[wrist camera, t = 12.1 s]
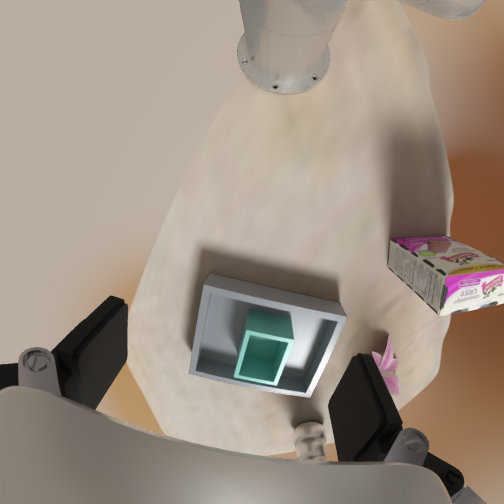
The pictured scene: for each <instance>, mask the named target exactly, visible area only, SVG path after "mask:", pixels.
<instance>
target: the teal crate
mask: <svg viewBox="0 0 504 504" xmlns="http://www.w3.org/2000/svg"><path fill="white" fill-rule="evenodd" d="M293 342H294V334H293V327H292V320H291V318H289V317H284V316H279V315H275V314H270V313H266V312H261V311H257V310H252V309H249V312H248V316H247V319H246V323H245V327H244V331H243V335H242V338H241V342H240V346H239V349H238V353H237V359H236V365H235V371H234V377H235V378H240V379H245V380H249V381H255V382H260V383H265V384H271V385H276V386H277V384H278V381H279V379H280V376H281V374H282V371H283V368H284V366H285V363H286V361H287V358H288V355H289V353H290V350H291V347H292V345H293Z"/></svg>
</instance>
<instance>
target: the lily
mask: <svg viewBox="0 0 504 504" xmlns="http://www.w3.org/2000/svg"><path fill="white" fill-rule="evenodd" d="M372 355H373V358H374V360H375V362H376V364H377V367H378V369H379V371H380V373H381V375H382V377H383V379H384V382H385V384H386V386H387V388H388V390H389V393H390V394H393V395H396V396H400V384H399V380H398V377H397V376H396V374H394V373H395V371H396V368H397V362H398V361H397V359H395V358H394V359H393V345H392V340H391V337H390V335H389V336H388V342H387V347H386V351H385V354H384V356H383V359H382V356H381V355H380V354H378V353H376V352H372Z"/></svg>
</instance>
